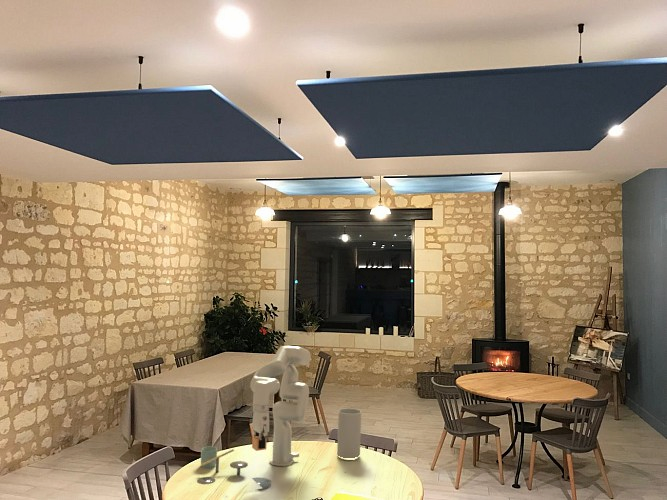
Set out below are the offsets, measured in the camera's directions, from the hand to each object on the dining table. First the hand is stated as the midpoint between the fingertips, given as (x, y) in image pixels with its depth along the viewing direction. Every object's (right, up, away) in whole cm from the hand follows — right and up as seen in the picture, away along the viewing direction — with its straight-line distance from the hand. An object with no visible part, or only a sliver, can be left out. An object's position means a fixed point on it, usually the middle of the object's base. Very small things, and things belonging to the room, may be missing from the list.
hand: (259, 446), depth 249 cm
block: (0, -1, 0) cm, 1 cm away
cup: (-28, -18, +17) cm, 38 cm away
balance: (-19, -18, +5) cm, 27 cm away
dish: (-1, -18, -1) cm, 18 cm away
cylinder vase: (+43, -22, +41) cm, 64 cm away
